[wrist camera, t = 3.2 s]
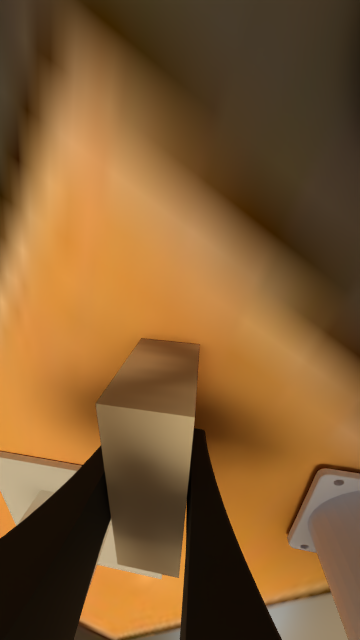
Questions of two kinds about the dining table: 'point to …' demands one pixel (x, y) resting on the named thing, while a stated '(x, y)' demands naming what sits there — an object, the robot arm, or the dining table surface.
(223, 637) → the robot arm
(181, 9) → the dining table surface
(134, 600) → the dining table surface
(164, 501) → the wooden bar
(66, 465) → the mat
